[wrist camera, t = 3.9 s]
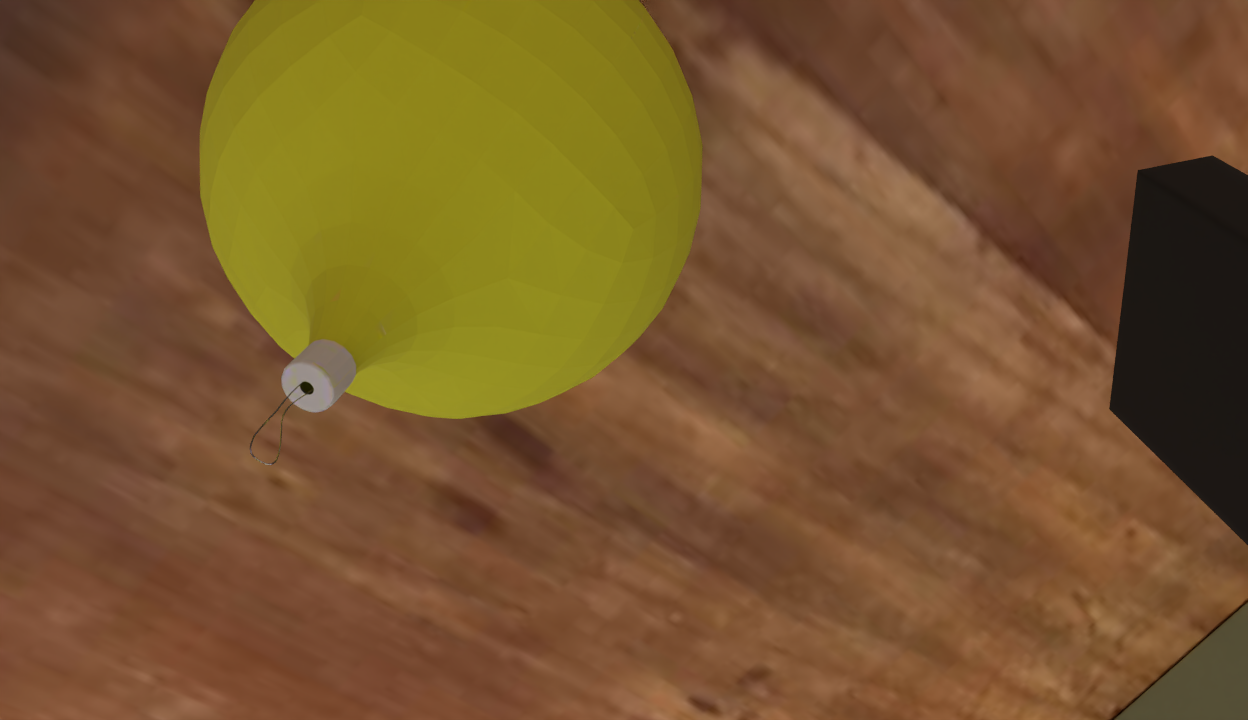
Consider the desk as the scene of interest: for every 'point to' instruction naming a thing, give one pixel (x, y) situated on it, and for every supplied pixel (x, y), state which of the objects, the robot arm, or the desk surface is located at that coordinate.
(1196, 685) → the shelf
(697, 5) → the desk surface
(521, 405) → the ornament
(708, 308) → the desk surface
